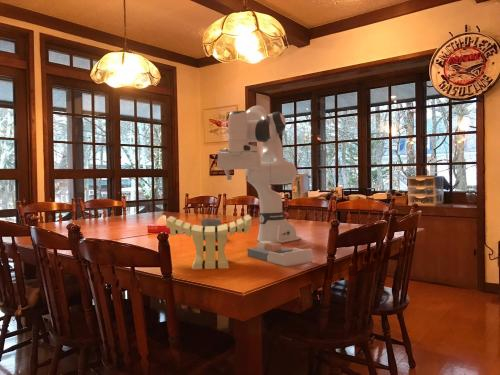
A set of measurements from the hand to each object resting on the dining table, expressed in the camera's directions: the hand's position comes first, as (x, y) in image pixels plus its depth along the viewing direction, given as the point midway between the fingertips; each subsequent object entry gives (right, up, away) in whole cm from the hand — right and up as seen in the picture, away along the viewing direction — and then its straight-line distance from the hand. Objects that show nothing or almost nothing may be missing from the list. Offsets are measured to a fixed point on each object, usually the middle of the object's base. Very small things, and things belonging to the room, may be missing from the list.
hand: (238, 179), depth 177 cm
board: (+13, -31, -13) cm, 36 cm away
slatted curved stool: (-10, -32, -24) cm, 41 cm away
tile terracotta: (+14, -28, -15) cm, 35 cm away
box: (+20, -32, -23) cm, 44 cm away
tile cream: (+11, -28, -10) cm, 32 cm away
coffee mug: (-15, -30, +36) cm, 49 cm away
